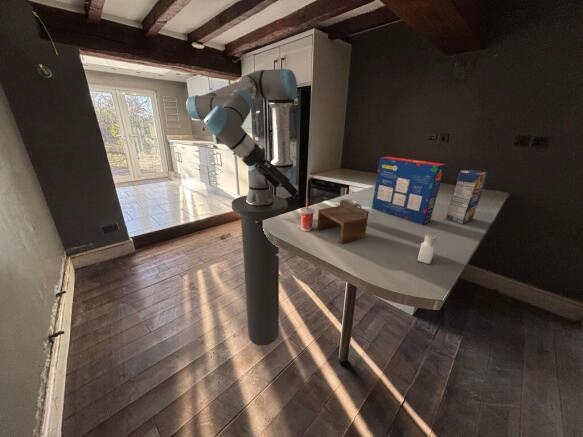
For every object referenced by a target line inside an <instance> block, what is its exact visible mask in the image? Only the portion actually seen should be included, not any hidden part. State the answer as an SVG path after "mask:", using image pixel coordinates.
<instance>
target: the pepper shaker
mask: <svg viewBox="0 0 583 437" xmlns="http://www.w3.org/2000/svg"><path fill="white" fill-rule="evenodd" d="M436 240H437V236H435V235H434V234H430V233H426V234H425V236H424V239H423V241H422V242H421V244H420V247H419V248H420V249H419V251H418V255H417V262H421V263H423V264H424V263H425V264H428V265H430V264H431V263H432V260H433V256H434V253H435V249H436V245H435V243H436Z"/></svg>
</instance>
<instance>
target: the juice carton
mask: <svg viewBox="0 0 583 437" xmlns="http://www.w3.org/2000/svg"><path fill="white" fill-rule="evenodd" d="M488 177H489V172H487V171H481V170H475V169H474V170H473V169H468V170H463V171H459V174H458V177H457V180H456V183H455V187H454V190H453V193H452V197H451V200H450V202H449V206H448V210H447V213H446V216H445V220H447V221H451V222H454V223H457V224H460V225H463V224H465V223H468V222H470V221H472V220H473V219H474V216H475V212H476V210H477V208H478V204H479V201H480V198H481V196H482V193H483V190H484V187H485V185H486V182H487V178H488Z"/></svg>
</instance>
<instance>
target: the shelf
mask: <svg viewBox="0 0 583 437" xmlns="http://www.w3.org/2000/svg"><path fill="white" fill-rule="evenodd" d="M317 212H318V213H317V224H316V225H317V226H316V227H317V228H316V229H317V230H323V229H327V228H331V227H334V226H339V225H341V227H340V228H341V229H340V237H339V244H341V245H343V244H347V243H349V242H352V241H356V240H359V239H363V238H365V237H366V232H367V226H368V220H369V214H370V211H368V210H366V209H364V208H362V209H361V208H360V207H359V206H358V207H357V206H354V205H352V204H349V203H347V202H344V201H341V200H340V201H339V205H337V206H331V207H326V208H321V209H318V211H317Z"/></svg>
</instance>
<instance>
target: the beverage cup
mask: <svg viewBox="0 0 583 437" xmlns="http://www.w3.org/2000/svg"><path fill="white" fill-rule="evenodd" d="M306 200H307V201H306V207H302V208H300V210H299V211H300V229H301V231H302V232H303V231H304V232H310V231H312V227H313V220H314V214H315V209H314V208H311V207H309V198H307V199H306Z"/></svg>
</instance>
